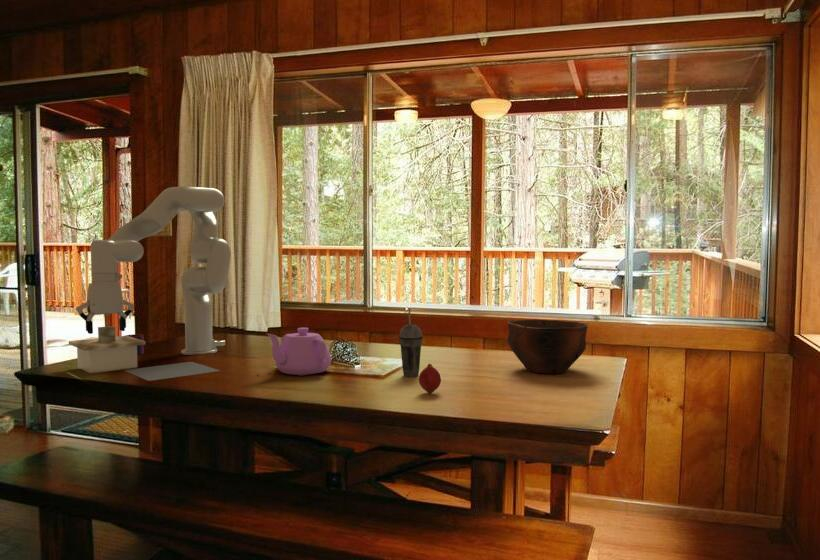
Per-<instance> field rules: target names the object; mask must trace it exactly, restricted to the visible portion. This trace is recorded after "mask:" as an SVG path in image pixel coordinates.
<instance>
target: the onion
mask: <svg viewBox="0 0 820 560" xmlns="http://www.w3.org/2000/svg"><path fill="white" fill-rule="evenodd" d="M418 383H419V386H420V387H421V389H423V390H424V391H425V392H426V393H427V394H433V393H434V392H435V391H436V390H437V389H438V388H439V387H440V385H441V383H442V378H441V374H440V372H439V371H438V369H436V367H434V366H433V364H432V363H428V364H427V366H426V367H425V368H423V369H422V371H421V372H419V376H418Z"/></svg>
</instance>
